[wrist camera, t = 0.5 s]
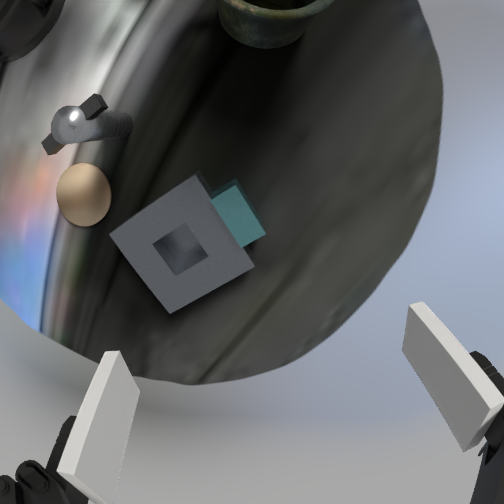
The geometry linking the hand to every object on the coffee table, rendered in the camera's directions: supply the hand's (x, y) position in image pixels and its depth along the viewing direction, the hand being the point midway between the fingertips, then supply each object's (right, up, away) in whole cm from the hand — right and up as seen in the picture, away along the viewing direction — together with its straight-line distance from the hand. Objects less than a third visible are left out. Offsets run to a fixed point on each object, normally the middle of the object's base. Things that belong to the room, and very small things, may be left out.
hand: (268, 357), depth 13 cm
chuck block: (-8, +7, +25) cm, 27 cm away
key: (-16, +19, +19) cm, 32 cm away
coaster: (-22, +12, +22) cm, 33 cm away
